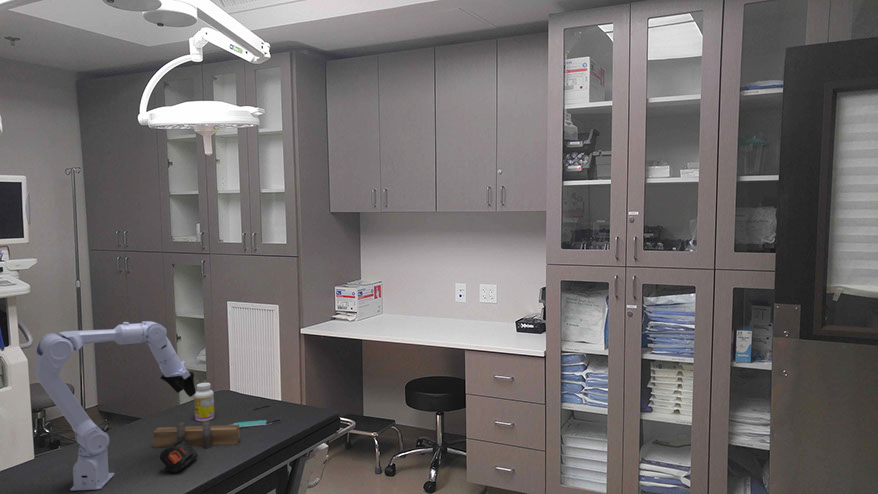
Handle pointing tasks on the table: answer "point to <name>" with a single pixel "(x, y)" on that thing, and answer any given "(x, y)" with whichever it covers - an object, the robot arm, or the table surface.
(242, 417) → the table surface
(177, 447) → the battery
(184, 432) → the bar
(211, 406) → the supplement bottle
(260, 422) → the surgical mask
